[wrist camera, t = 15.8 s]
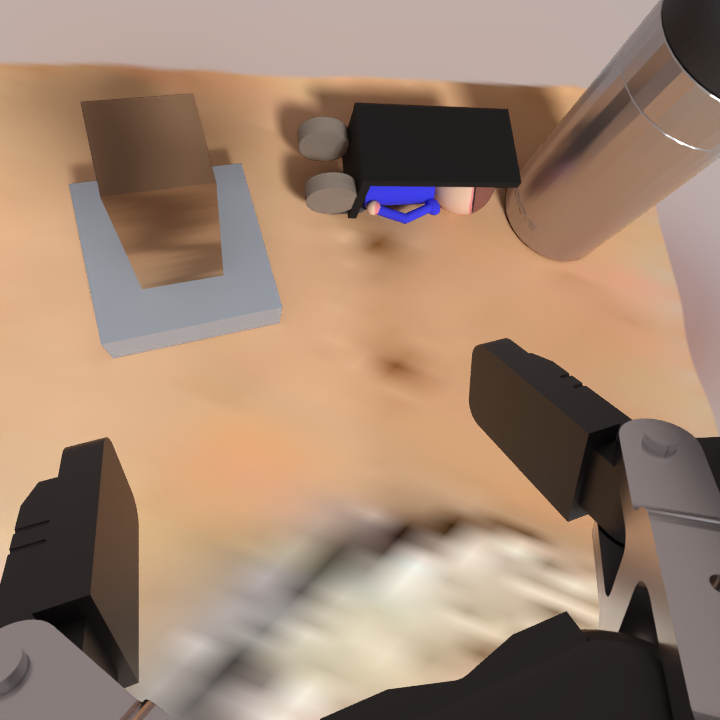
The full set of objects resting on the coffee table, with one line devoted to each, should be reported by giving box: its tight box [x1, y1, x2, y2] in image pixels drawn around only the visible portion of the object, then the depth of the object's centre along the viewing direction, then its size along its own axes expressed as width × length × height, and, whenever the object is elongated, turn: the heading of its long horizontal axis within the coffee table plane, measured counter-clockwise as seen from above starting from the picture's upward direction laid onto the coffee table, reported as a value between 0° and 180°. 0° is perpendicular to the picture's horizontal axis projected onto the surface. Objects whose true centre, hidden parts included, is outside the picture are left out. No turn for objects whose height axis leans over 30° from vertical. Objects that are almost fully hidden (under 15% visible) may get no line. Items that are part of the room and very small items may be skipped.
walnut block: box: [81, 93, 224, 289], centre depth 28 cm, size 5×5×10 cm
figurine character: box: [298, 103, 521, 224], centre depth 38 cm, size 7×8×15 cm
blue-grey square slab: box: [69, 163, 282, 358], centre depth 34 cm, size 11×11×3 cm
